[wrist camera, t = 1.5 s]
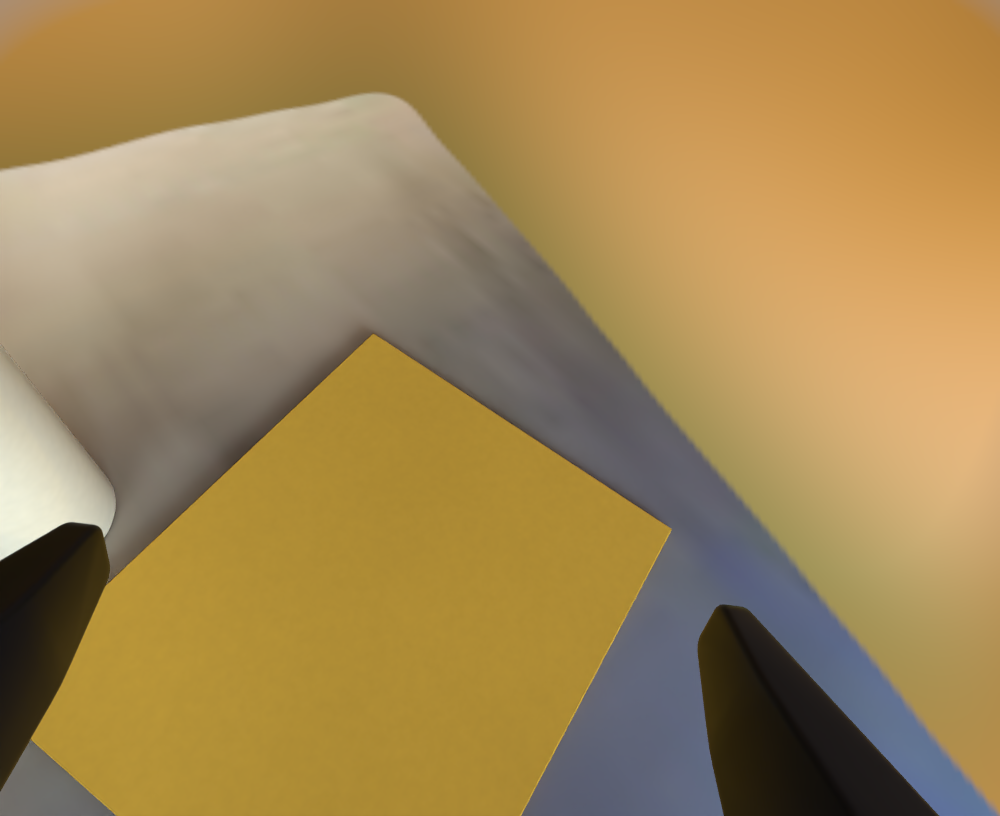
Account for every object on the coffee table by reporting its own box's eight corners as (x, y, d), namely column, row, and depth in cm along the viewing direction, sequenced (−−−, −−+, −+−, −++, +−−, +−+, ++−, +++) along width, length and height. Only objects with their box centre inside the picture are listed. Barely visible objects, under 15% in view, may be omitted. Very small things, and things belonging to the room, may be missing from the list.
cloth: (391, 1057, 18) (391, 1060, 18) (-11, 700, 21) (-15, 699, 20) (669, 531, 28) (672, 528, 27) (373, 336, 30) (373, 332, 30)
